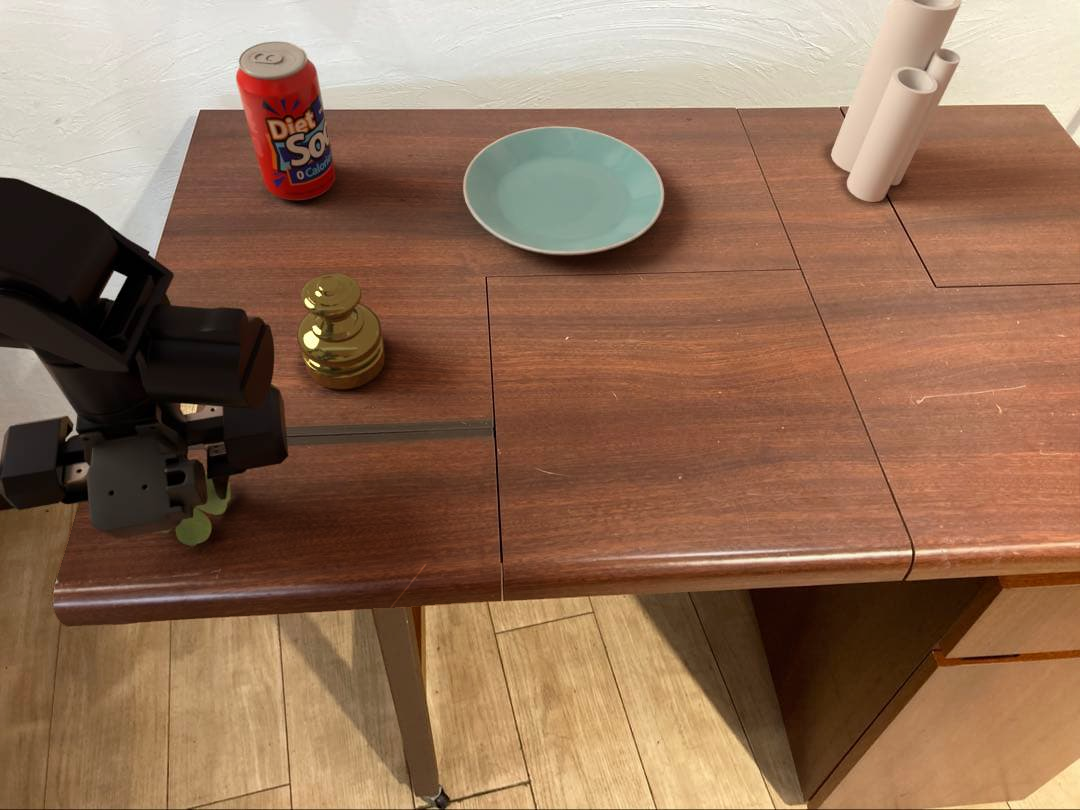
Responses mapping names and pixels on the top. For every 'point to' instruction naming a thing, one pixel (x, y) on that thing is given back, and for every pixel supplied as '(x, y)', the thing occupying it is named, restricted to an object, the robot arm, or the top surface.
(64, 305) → the robot arm
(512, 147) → the plate
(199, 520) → the green clover leaf
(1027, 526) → the top surface
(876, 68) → the vase
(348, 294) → the brass weight
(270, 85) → the soda can
